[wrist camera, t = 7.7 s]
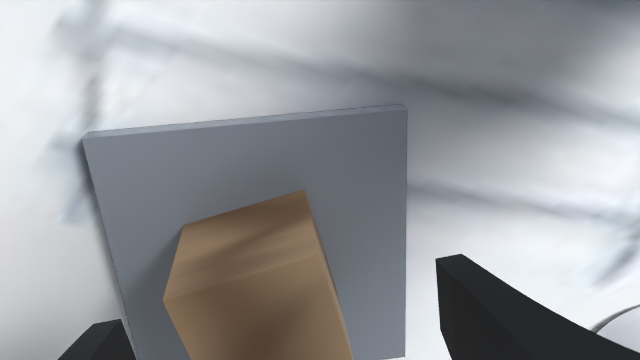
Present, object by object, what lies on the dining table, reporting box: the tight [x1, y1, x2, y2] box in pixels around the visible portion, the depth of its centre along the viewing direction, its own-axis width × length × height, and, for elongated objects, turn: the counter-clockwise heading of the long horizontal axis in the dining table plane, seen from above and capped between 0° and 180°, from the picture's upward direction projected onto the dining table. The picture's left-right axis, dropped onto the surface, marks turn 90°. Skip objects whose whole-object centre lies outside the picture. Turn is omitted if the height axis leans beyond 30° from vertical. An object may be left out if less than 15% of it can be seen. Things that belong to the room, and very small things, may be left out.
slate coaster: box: [82, 104, 407, 360], centre depth 22 cm, size 12×12×1 cm
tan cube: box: [163, 189, 354, 360], centre depth 19 cm, size 5×5×5 cm
